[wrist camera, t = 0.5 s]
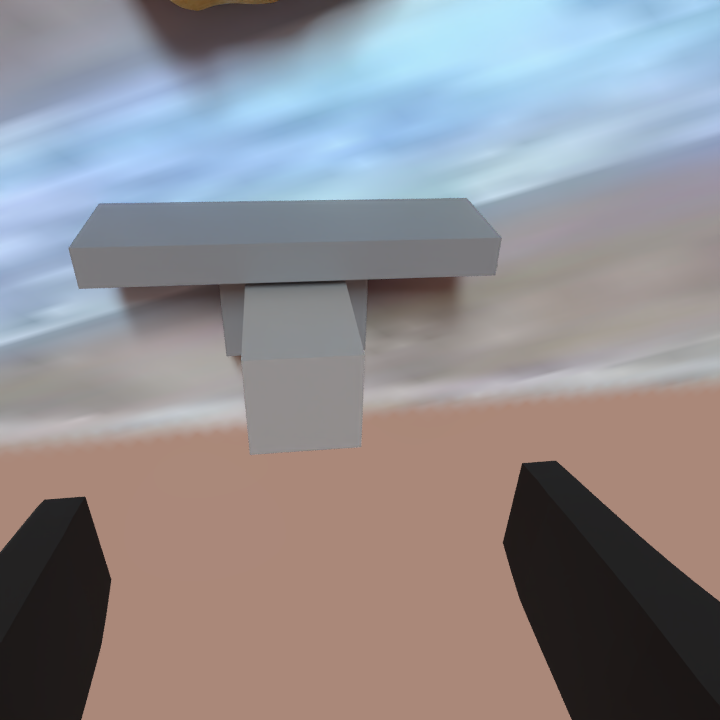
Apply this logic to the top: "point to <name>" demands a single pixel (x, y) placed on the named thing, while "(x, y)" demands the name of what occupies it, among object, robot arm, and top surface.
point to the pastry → (214, 3)
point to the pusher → (288, 289)
